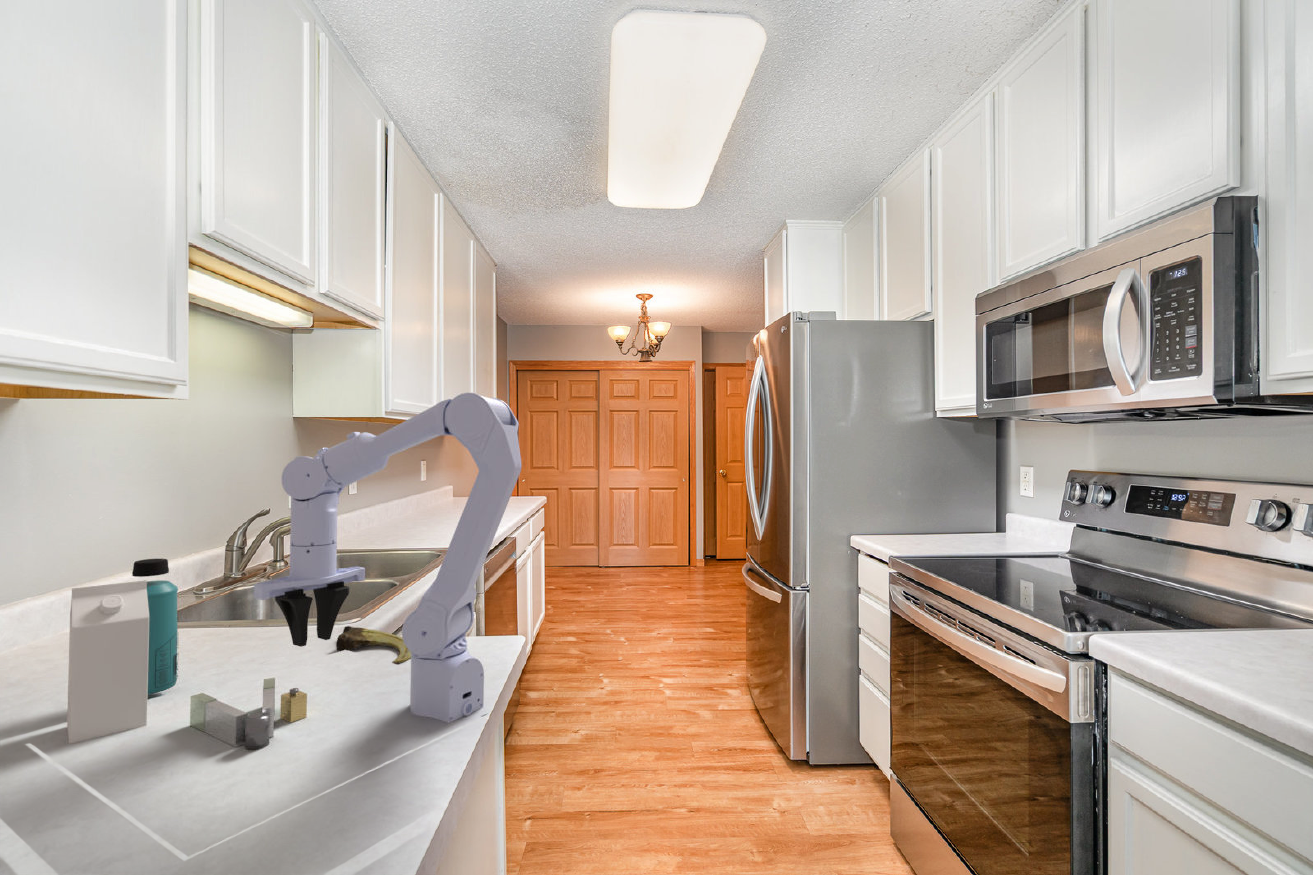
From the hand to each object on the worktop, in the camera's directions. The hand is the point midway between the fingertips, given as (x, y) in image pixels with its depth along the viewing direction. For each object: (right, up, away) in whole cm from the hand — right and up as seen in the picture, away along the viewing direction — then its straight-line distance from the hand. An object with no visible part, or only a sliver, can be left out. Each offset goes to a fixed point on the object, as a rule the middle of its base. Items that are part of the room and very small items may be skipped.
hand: (311, 641), depth 87 cm
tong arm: (-2, -8, -7) cm, 11 cm away
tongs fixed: (-4, -8, -11) cm, 14 cm away
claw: (-2, -11, +26) cm, 28 cm away
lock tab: (+1, -8, -6) cm, 10 cm away
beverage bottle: (-25, -10, +3) cm, 27 cm away
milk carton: (-21, -9, -9) cm, 24 cm away
